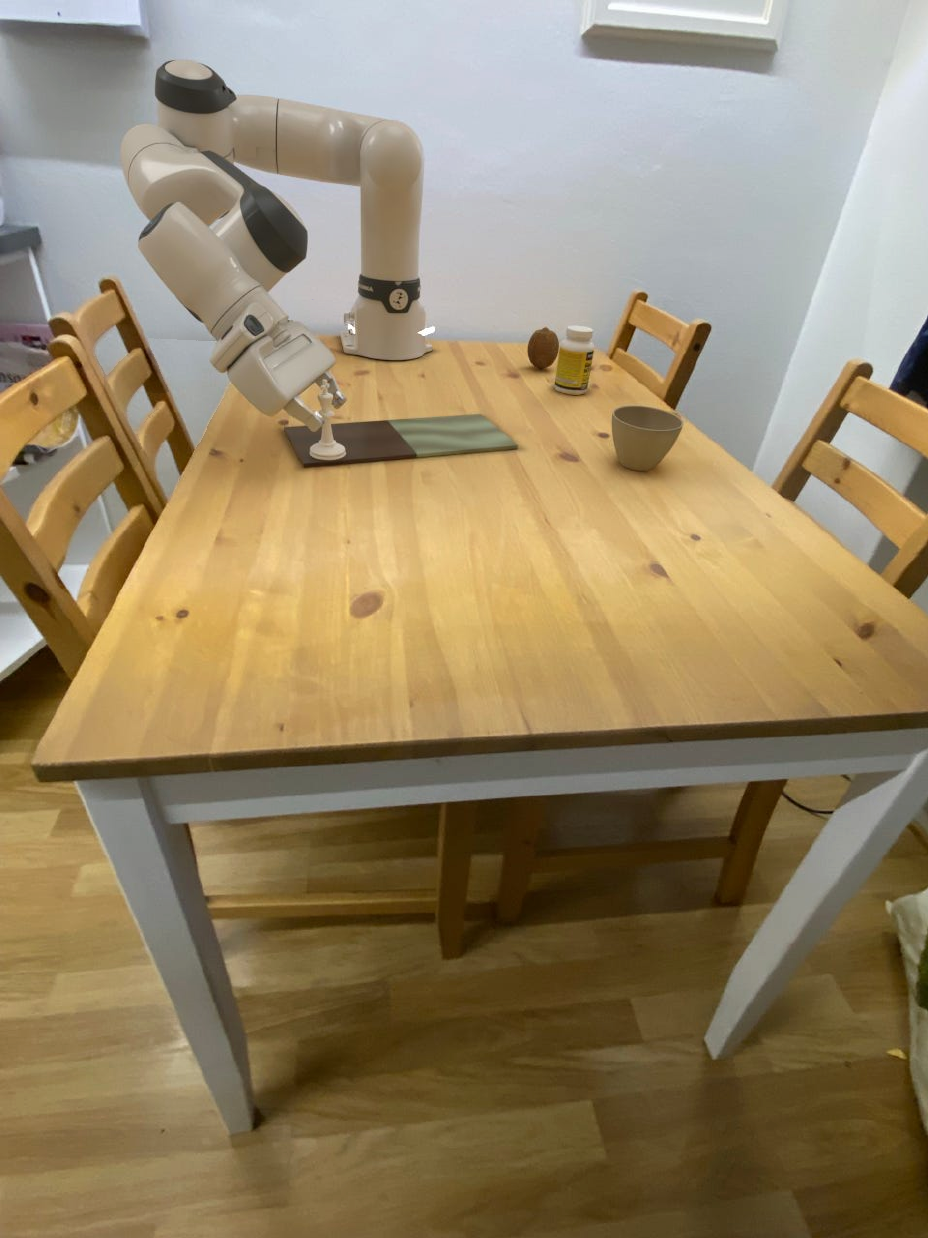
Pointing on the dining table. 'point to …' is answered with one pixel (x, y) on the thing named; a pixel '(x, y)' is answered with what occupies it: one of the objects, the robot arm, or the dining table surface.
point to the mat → (402, 439)
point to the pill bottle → (574, 361)
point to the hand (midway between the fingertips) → (331, 415)
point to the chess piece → (326, 430)
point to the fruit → (543, 348)
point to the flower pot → (643, 435)
